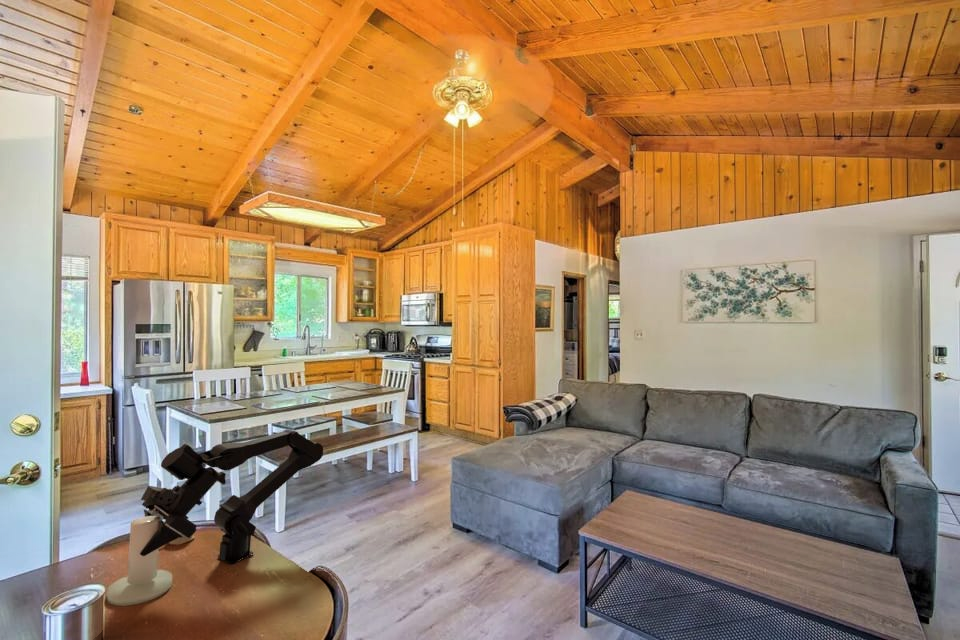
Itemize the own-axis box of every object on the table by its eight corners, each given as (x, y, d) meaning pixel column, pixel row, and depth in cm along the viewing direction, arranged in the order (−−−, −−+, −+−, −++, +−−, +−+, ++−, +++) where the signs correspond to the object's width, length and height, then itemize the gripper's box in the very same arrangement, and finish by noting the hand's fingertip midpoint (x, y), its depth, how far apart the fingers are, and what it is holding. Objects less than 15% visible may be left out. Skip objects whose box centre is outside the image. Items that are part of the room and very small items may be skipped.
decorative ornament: (189, 544, 126) (190, 525, 126) (156, 545, 124) (157, 525, 124) (195, 538, 130) (197, 519, 130) (163, 538, 128) (165, 519, 128)
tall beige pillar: (141, 569, 107) (145, 514, 107) (163, 572, 106) (166, 516, 106) (120, 582, 101) (124, 524, 101) (143, 585, 100) (147, 527, 101)
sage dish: (155, 570, 111) (156, 564, 112) (182, 586, 106) (183, 579, 106) (96, 594, 101) (97, 587, 101) (122, 612, 95) (123, 605, 95)
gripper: (154, 463, 113) (95, 521, 104) (184, 481, 102) (120, 548, 93) (187, 487, 119) (134, 544, 110) (219, 506, 108) (162, 571, 99)
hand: (137, 550), depth 103 cm, fingers closed on tall beige pillar, 6 cm apart
